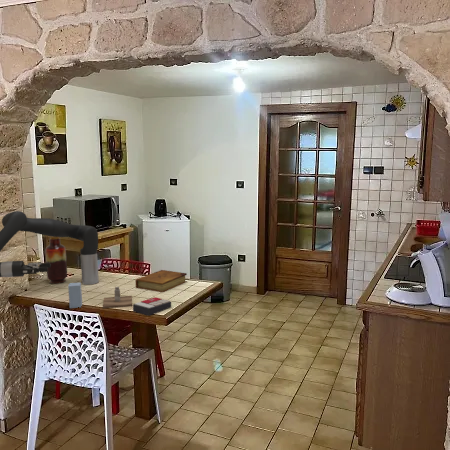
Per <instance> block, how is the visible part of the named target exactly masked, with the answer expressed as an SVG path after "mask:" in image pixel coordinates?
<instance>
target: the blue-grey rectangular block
mask: <svg viewBox="0 0 450 450" xmlns="http://www.w3.org/2000/svg"><path fill="white" fill-rule="evenodd" d="M67 291H68V300H69V301H68V303H69V309H77V308H78V307H79V308H82V307H83V293H82V282H70V283H68V290H67ZM81 306H82V307H81Z"/></svg>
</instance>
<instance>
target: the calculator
mask: <svg viewBox="0 0 450 450" xmlns="http://www.w3.org/2000/svg"><path fill="white" fill-rule="evenodd" d="M171 308H172V301H171V300H168V299H165V298H160V297H152V298H149V299H148V298H147V299H146V300H141V301H140V302H136V303H134V304H133V303H132V312H133V313H138V314H141V315H145V316H148V317H150V316H152V315H155V314H157V313H159V312H162V311H166V310H168V309H171Z"/></svg>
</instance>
